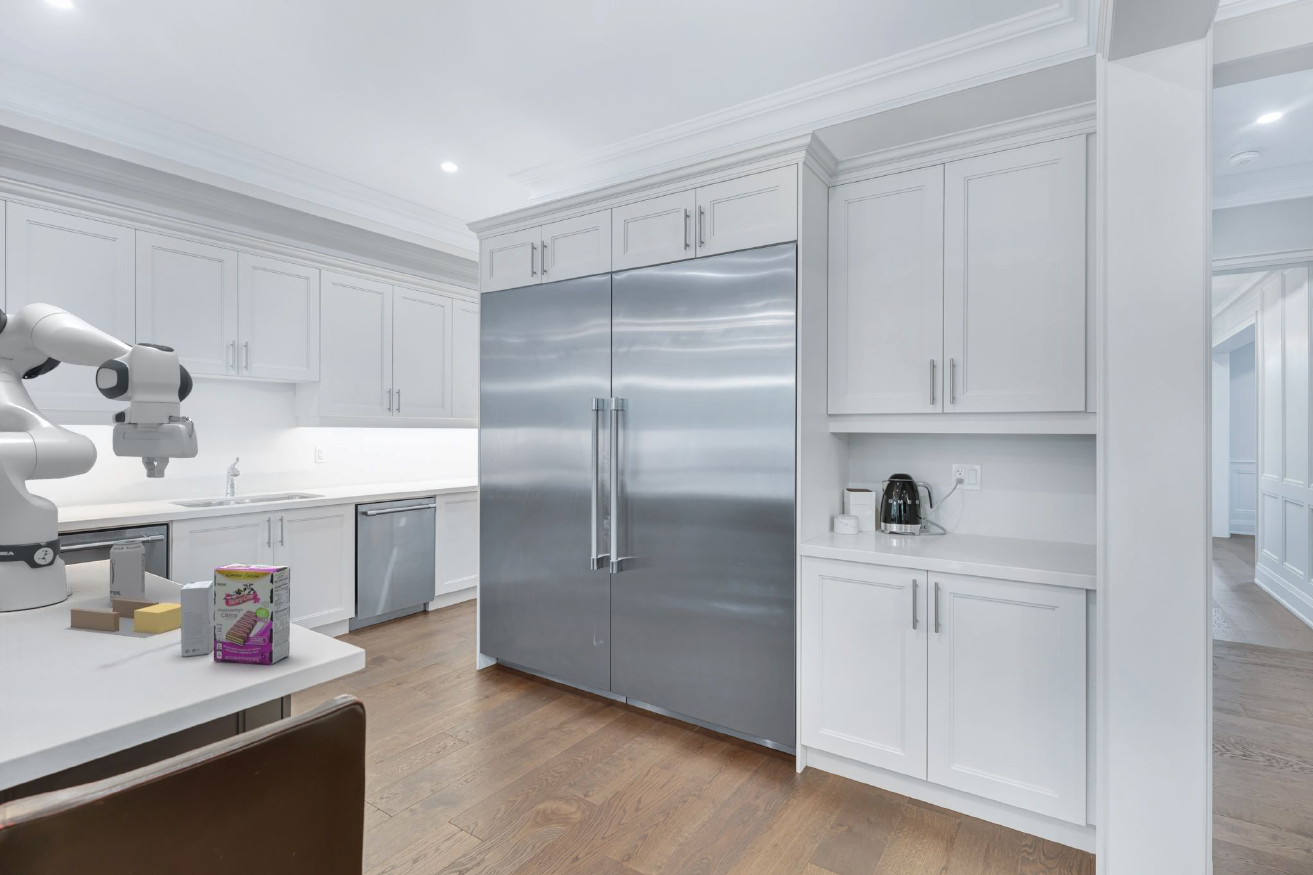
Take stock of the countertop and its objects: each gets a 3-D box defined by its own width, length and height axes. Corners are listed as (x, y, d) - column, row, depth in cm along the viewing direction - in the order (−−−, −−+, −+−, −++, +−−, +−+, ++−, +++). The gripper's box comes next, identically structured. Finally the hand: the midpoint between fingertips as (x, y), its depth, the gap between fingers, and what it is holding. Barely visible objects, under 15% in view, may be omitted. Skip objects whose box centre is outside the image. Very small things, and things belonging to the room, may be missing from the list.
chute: (64, 633, 127) (64, 610, 127) (122, 618, 138) (122, 596, 137) (144, 643, 122) (144, 619, 122) (198, 626, 133) (198, 604, 133)
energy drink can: (107, 609, 144) (107, 541, 144) (141, 604, 149) (141, 538, 148) (112, 614, 140) (113, 545, 140) (147, 609, 145) (148, 541, 144)
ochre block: (134, 631, 126) (134, 610, 126) (164, 622, 132) (164, 602, 132) (158, 633, 125) (158, 612, 125) (187, 624, 130) (187, 604, 130)
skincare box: (209, 654, 117) (210, 586, 117) (179, 657, 115) (179, 589, 115) (215, 643, 122) (216, 579, 122) (186, 647, 120) (187, 581, 120)
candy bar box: (211, 662, 113) (211, 568, 112) (233, 653, 118) (233, 562, 117) (272, 666, 111) (272, 570, 111) (291, 656, 116) (291, 564, 116)
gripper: (205, 416, 146) (205, 478, 147) (134, 416, 151) (134, 475, 151) (179, 415, 140) (179, 480, 140) (106, 415, 145) (106, 477, 145)
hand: (155, 477), depth 146 cm, fingers closed
